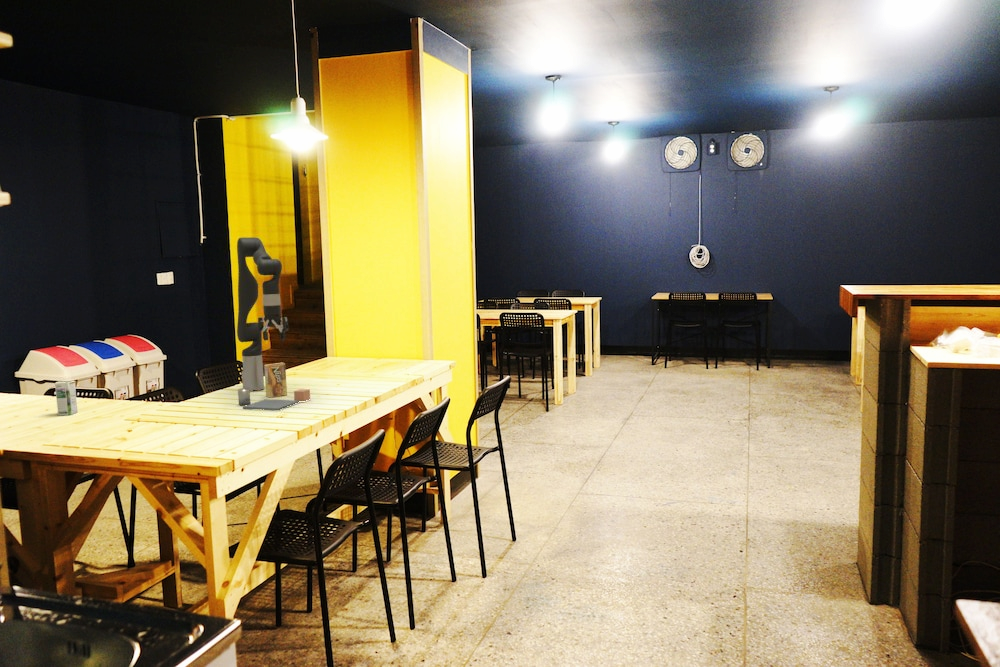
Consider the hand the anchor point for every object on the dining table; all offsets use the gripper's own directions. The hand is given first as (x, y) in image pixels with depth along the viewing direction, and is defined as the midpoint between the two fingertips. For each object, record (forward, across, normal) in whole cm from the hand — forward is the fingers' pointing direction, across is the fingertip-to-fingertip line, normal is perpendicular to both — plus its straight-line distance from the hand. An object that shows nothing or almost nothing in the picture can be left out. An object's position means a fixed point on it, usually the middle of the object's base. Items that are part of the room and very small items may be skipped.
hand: (274, 340), depth 335 cm
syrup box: (+28, +80, +39) cm, 93 cm away
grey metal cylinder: (+28, +12, +8) cm, 32 cm away
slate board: (+28, -2, +8) cm, 29 cm away
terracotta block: (+28, -10, -4) cm, 30 cm away
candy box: (+28, +9, -12) cm, 32 cm away
